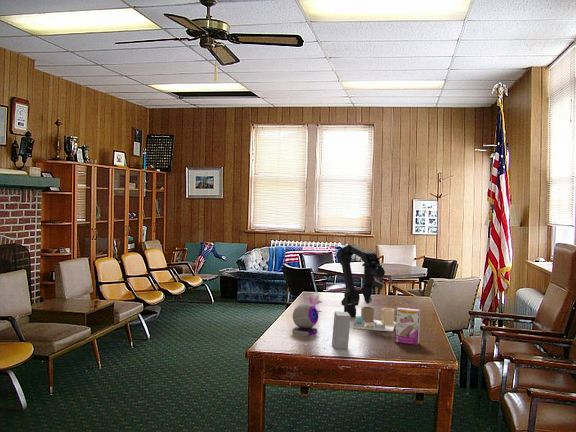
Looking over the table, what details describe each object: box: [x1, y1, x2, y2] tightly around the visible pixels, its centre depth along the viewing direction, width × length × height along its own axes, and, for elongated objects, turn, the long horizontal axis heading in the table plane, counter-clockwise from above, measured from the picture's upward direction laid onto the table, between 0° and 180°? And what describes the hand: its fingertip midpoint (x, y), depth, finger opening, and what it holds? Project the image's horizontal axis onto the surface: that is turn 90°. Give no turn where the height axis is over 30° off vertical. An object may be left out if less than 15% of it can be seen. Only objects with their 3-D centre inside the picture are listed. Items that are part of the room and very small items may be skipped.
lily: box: [301, 294, 323, 308], centre depth 357 cm, size 12×12×10 cm
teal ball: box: [355, 315, 363, 324], centre depth 315 cm, size 4×4×4 cm
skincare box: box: [331, 311, 352, 350], centre depth 274 cm, size 8×7×16 cm
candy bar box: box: [394, 307, 421, 346], centre depth 285 cm, size 11×5×16 cm, turn 71°
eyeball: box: [291, 302, 319, 337], centre depth 300 cm, size 13×13×15 cm
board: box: [352, 306, 396, 332], centre depth 321 cm, size 21×22×8 cm
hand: (367, 303), depth 329 cm, fingers closed on charcoal ball, 4 cm apart
